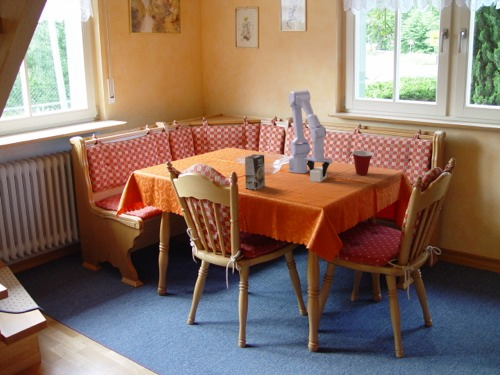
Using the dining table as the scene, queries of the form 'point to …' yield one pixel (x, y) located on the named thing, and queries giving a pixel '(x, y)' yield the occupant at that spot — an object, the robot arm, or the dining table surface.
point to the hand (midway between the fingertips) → (318, 175)
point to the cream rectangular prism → (317, 174)
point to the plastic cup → (362, 161)
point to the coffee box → (254, 171)
